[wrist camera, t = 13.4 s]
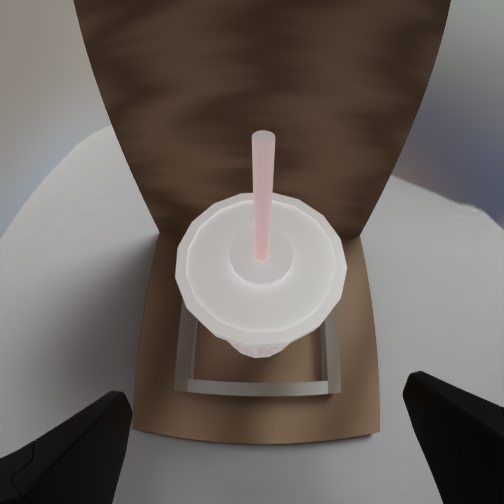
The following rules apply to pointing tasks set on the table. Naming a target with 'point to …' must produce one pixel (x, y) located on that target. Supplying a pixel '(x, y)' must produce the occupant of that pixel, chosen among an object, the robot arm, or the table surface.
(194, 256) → the beverage cup
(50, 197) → the table surface
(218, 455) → the table surface
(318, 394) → the wooden headphone stand
